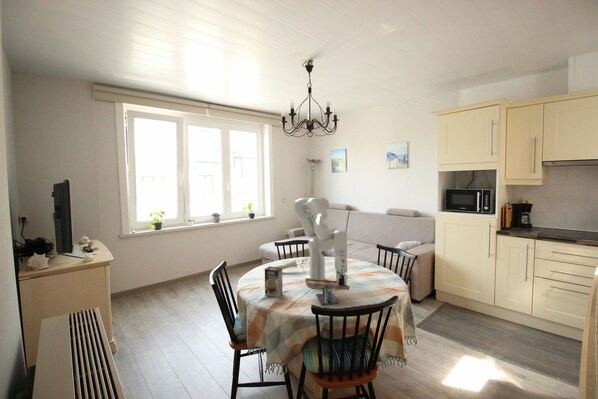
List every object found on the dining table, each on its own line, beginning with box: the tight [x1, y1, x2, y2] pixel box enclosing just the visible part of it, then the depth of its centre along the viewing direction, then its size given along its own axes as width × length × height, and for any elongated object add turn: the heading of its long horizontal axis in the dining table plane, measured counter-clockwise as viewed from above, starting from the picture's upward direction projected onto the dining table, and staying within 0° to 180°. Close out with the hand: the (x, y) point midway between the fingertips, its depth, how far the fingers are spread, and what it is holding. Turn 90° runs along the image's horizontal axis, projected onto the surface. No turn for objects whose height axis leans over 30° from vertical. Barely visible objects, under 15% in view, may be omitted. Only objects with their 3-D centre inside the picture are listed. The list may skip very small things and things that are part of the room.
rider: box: [335, 273, 349, 286], centre depth 164 cm, size 5×4×6 cm
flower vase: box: [271, 256, 310, 273], centre depth 212 cm, size 12×12×35 cm
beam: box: [304, 279, 350, 291], centre depth 163 cm, size 24×8×2 cm, turn 99°
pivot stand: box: [315, 278, 340, 306], centre depth 163 cm, size 10×13×10 cm
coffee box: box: [264, 266, 283, 298], centre depth 171 cm, size 9×6×16 cm
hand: (340, 282), depth 164 cm, fingers closed on rider, 4 cm apart
